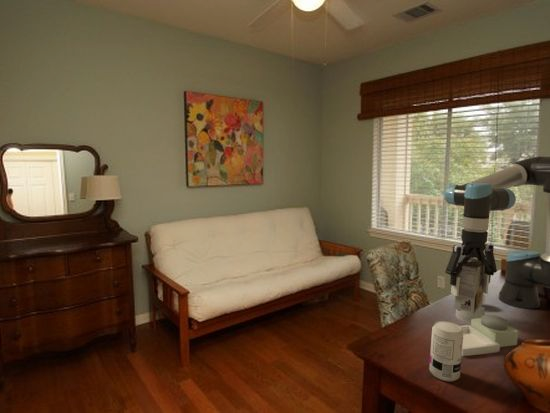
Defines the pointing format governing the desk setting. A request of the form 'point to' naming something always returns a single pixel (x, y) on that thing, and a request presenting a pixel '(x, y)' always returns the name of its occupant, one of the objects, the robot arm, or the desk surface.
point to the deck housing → (487, 335)
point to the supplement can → (446, 351)
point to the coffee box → (470, 286)
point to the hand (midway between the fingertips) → (469, 293)
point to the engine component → (470, 314)
